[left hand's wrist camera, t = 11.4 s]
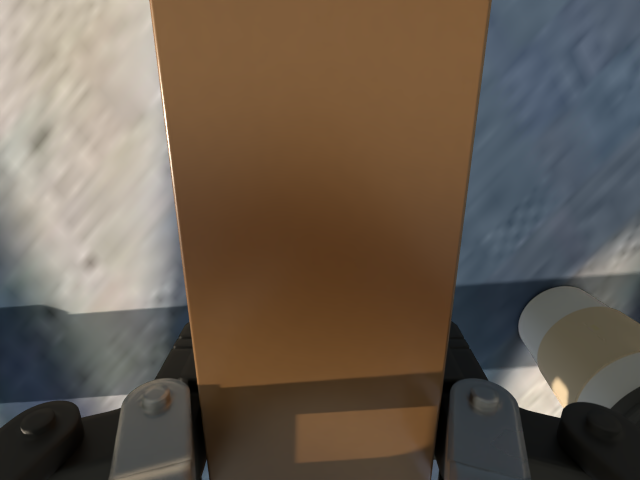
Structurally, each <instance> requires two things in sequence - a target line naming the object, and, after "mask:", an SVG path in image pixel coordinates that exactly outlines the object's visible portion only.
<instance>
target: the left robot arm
mask: <svg viewBox="0 0 640 480" xmlns="http://www.w3.org/2000/svg"><path fill="white" fill-rule="evenodd" d="M206 460H207V456H206V448H205V440H204V432H203V424H202V416H201V408H200V400H199V392H198V384H197V376H196V368H195V360H194V352H193V344H192V336H191V328H190V322H189V323H187V324H186V325H185V326H184V328H183V330H182V332H181V334H180V335H179V339H177V341H176V342H175V344H174V346H173V349H172V350H171V351H170V353H169V355H168V357H167V359H166V360H165V362H164V364H163V366H162V367H161V369H160V371H159V373H158V375H157V376H156V378H155V380H153V381H150V382H147V383H145V384H143V385H141V386H139V387H137V388H136V389H134V390H133V391H132V392H131V393H130V394H129V395H128V396H127V397H126V398H125V399H124V401H123V403H122V406H121V408H119V409H116V410H113V411H109V412H104V413H100V414H96V415H91V416H87V417H83V418H81V415H80V411H79V409H78V407H77V406H76V405H75V404H74V403H72V402H69V401H51V402H46V403H43V404H39V405H37V406H34V407H32V408H30V409H27V410H25V411H24V412H22V413H20V414H19V415H17V416H16V417H14V418H13V419H12V420H10V421H9V422H8V423H6V424H5V425H4V426H3V427H1V428H0V480H202V473H203V470H204V466H205V463H206ZM433 460H436V461H437V464H438V467H439V475H438V480H640V428H639V427H637V426H636V425H635V424H634V423H632V422H631V421H630V420H628V419H627V418H625V417H624V416H623V415H621V414H619V413H617V412H616V411H614V410H612V409H609V408H607V407H604V406H601V405H598V404H594V403H589V402H574V403H571V404H568V405H567V406H565V408H564V409H563V411H562V415H561V418H558V417H553V416H549V415H545V414H540V413H536V412H532V411H528V410H525V409H522V408H520V407H519V406H518V403H517V401H516V399H515V398H514V397H513V396H512V395H511V394H510V393H509V392H508V391H507V390H506V389H504V388H503V387H501V386H499V385H497V384H495V383H493V382H490V381H488V379H487V377H486V375H485V374H484V372H483V370H482V368H481V367H480V365H479V363H478V361H477V360H476V358H475V356H474V354H473V353H472V351H471V349H469V346H468V344H467V342H466V340H465V339H464V337H463V335H462V333H461V331H460V330H459V328H458V326H457V325H456V324H454V323H453V322H452V321H451V325H450V333H449V341H448V349H447V357H446V365H445V372H444V380H443V388H442V396H441V404H440V412H439V420H438V428H437V435H436V443H435V451H434V459H433Z"/></svg>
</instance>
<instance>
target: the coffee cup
mask: <svg viewBox="0 0 640 480" xmlns="http://www.w3.org/2000/svg"><path fill="white" fill-rule="evenodd" d="M518 328H519V334H520V337H521V339H522V341H523V342H524V344H525V345H526V347H527V348H528V350H529V352H530V353H531V355H532V356H533V358H534V359H535V361H536V363H537V364H538V367H539V369H540V371H541V373H542V375H543V376H544V378H545V380H546V381H547V383H548V384H549V386H550V388H551V389H552V391H553V392H554V394H555V396H556V397H557V399H558V400H559V402H560V403H561V405H562V407H563V408H565V406H567V405H568V404H571V403H574V402H589V403H594V404H598V405H601V406H604V407H607V408H609V409H612V410H614V411H616V412H617V413H619V414H621V415H623V416H624V417H625V418H627V419H628V420H630V421H631V422H632V423H634V424H635V425H636V426H637V427H639V428H640V324H639V323H638V322H636V321H634V320H633V319H631V318H630V317H628V316H627V315H625V314H623V313H622V312H620V311H618V310H616V309H613V308H610V307H608V306H607V305H605V304H604V303H602V302H601V301H599V300H597V299H596V298H594V297H593V296H591V295H590V294H588V293H587V292H585V291H583V290H581V289H579V288H576V287H571V286H560V287H555V288H551V289H549V290H546V291H544V292H542V293H540V294H539V295H537V296H536V297H535V298H533V299H532V300H531V301H530V302H529V303H528V304H527V306H526V307H525V308H524V310H523V312H522V314H521V316H520V319H519V326H518Z"/></svg>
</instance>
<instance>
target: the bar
mask: <svg viewBox="0 0 640 480" xmlns="http://www.w3.org/2000/svg"><path fill="white" fill-rule="evenodd" d="M149 1H150V9H151V17H152V25H153V33H154V41H155V49H156V57H157V65H158V73H159V81H160V89H161V97H162V105H163V113H164V121H165V129H166V137H167V145H168V153H169V161H170V169H171V177H172V185H173V193H174V201H175V209H176V217H177V225H178V233H179V241H180V249H181V257H182V265H183V273H184V281H185V289H186V296H187V304H188V312H189V320H190V328H191V336H192V344H193V352H194V360H195V368H196V376H197V384H198V392H199V400H200V408H201V416H202V424H203V432H204V440H205V448H206V456H207V464H208V472H209V480H431V475H432V467H433V459H434V451H435V443H436V435H437V428H438V420H439V412H440V404H441V396H442V388H443V380H444V372H445V365H446V357H447V349H448V341H449V333H450V325H451V317H452V309H453V302H454V294H455V286H456V278H457V270H458V262H459V254H460V246H461V239H462V231H463V223H464V215H465V207H466V199H467V191H468V183H469V175H470V168H471V160H472V152H473V144H474V136H475V128H476V120H477V112H478V105H479V97H480V89H481V81H482V73H483V65H484V57H485V49H486V42H487V34H488V26H489V18H490V10H491V2H492V0H149Z"/></svg>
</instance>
